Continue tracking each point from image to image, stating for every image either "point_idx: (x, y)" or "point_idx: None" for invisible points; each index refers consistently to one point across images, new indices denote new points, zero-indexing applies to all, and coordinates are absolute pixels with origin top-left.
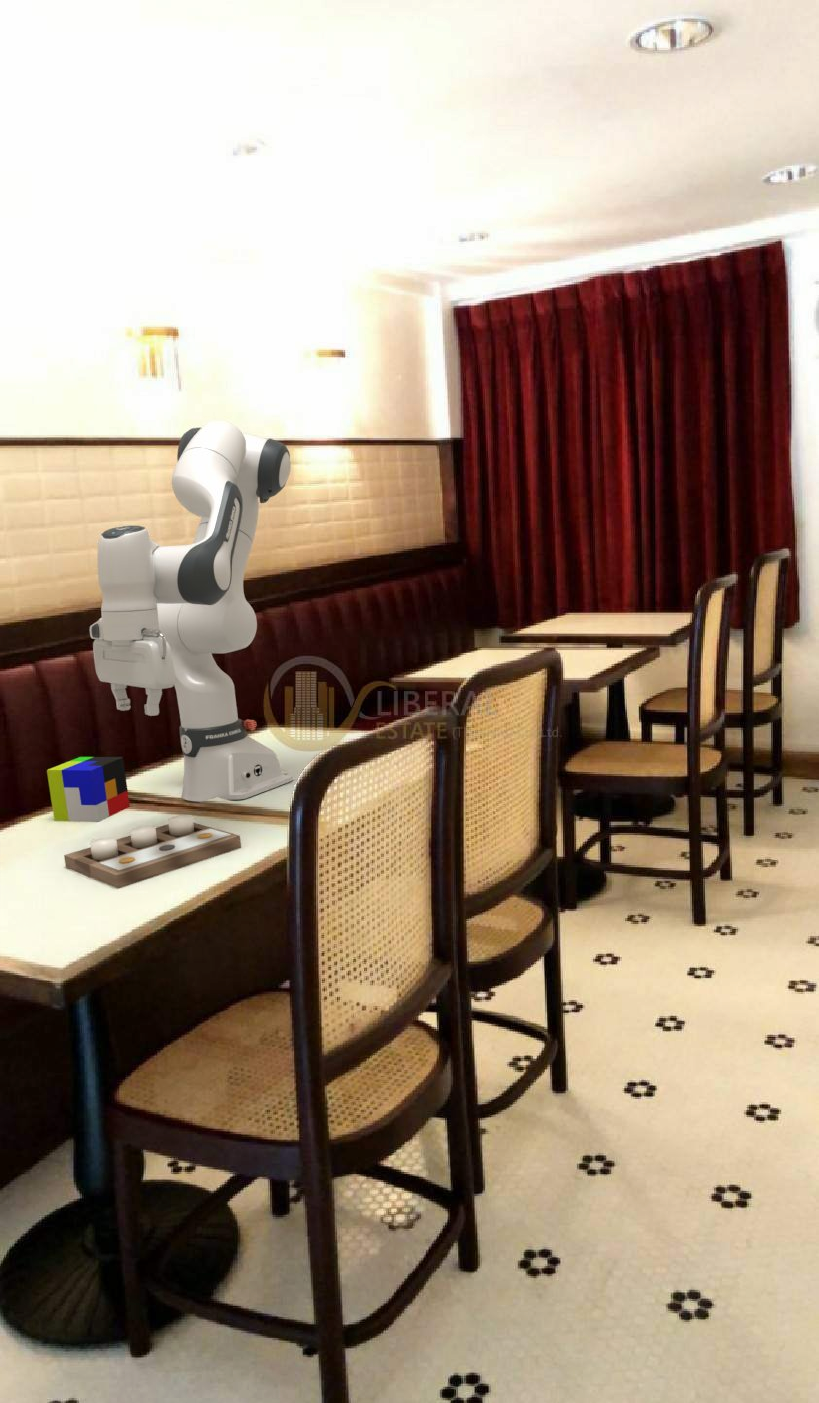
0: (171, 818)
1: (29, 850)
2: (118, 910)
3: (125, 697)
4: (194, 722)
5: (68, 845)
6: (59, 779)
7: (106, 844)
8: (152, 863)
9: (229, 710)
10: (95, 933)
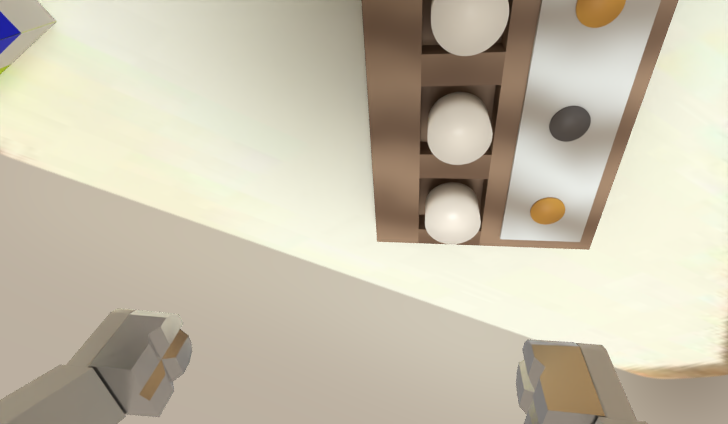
0: (444, 36)
1: (191, 197)
2: (640, 256)
3: (88, 386)
4: None
5: (210, 147)
6: None
7: (478, 229)
8: (610, 185)
9: None
10: (677, 307)
